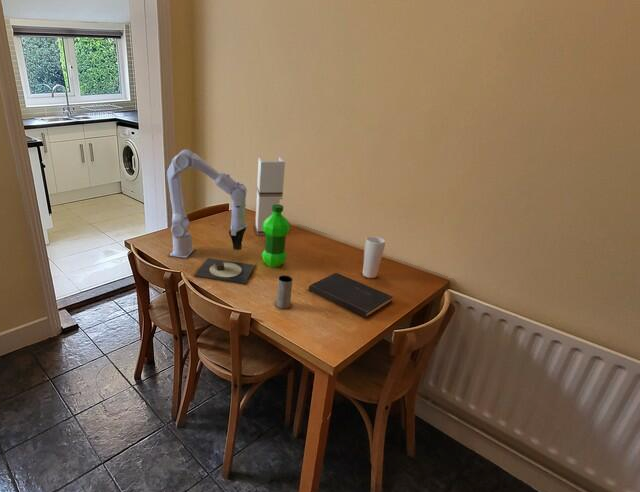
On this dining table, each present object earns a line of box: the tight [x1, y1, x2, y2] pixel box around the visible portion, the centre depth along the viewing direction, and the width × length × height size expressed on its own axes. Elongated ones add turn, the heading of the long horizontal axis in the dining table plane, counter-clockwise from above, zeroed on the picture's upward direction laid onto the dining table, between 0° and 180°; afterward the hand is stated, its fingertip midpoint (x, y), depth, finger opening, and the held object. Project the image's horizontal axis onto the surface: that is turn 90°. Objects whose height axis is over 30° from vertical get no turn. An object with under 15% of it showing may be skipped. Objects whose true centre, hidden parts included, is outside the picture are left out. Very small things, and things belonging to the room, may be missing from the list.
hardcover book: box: [308, 272, 394, 319], centre depth 144 cm, size 16×23×2 cm
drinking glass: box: [362, 236, 386, 279], centre depth 156 cm, size 7×7×15 cm
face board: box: [194, 258, 256, 285], centre depth 163 cm, size 16×20×1 cm
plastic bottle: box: [261, 204, 291, 268], centre depth 163 cm, size 10×10×25 cm
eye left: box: [215, 262, 224, 271], centre depth 163 cm, size 4×4×2 cm
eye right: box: [232, 243, 243, 251], centre depth 172 cm, size 4×4×2 cm
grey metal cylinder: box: [276, 275, 293, 309], centre depth 137 cm, size 4×4×10 cm
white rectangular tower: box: [254, 156, 286, 236], centre depth 194 cm, size 11×11×35 cm
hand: (237, 245), depth 172 cm, fingers closed on eye right, 3 cm apart
